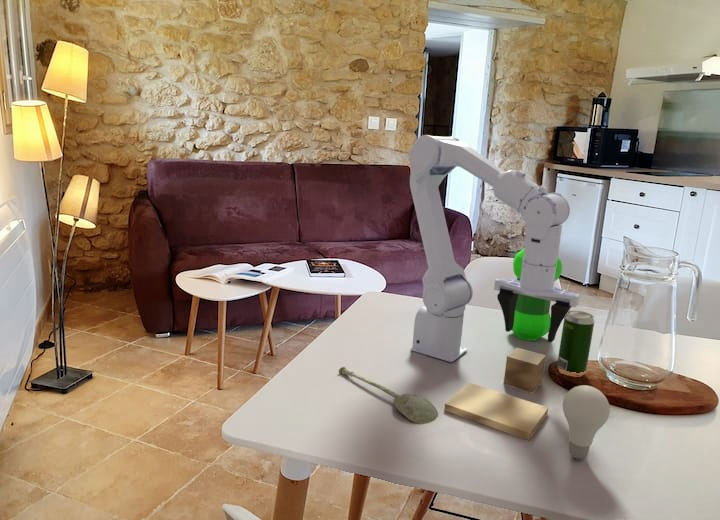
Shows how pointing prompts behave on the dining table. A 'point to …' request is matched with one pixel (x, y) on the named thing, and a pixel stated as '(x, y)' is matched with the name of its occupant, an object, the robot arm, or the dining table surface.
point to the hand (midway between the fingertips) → (529, 335)
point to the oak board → (497, 410)
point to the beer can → (575, 341)
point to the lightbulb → (584, 417)
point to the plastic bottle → (531, 308)
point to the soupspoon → (405, 402)
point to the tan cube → (524, 369)
